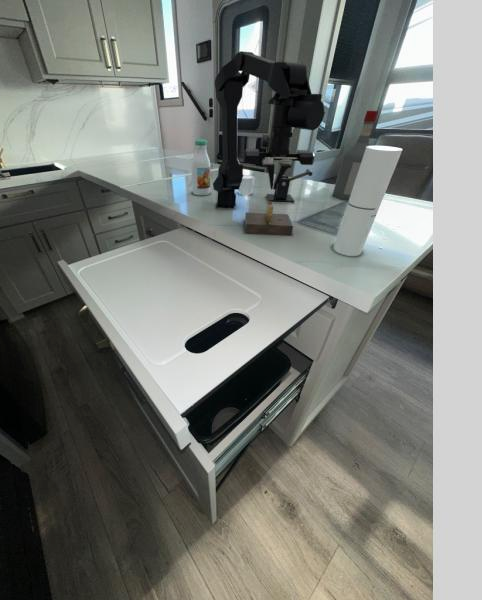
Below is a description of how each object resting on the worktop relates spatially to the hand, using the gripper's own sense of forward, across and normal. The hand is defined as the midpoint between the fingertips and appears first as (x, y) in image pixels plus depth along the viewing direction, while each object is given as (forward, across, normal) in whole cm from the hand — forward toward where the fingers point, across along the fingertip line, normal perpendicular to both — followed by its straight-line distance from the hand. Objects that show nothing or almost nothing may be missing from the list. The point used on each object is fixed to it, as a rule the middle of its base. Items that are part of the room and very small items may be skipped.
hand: (272, 189), depth 79 cm
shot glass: (+12, +6, -36) cm, 39 cm away
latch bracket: (+12, -8, -30) cm, 33 cm away
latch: (+4, -13, -30) cm, 33 cm away
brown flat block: (+12, 0, 0) cm, 12 cm away
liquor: (+12, -36, -36) cm, 52 cm away
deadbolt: (+9, 0, 0) cm, 9 cm away
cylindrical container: (+12, -21, +13) cm, 28 cm away
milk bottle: (+12, +25, -36) cm, 45 cm away
